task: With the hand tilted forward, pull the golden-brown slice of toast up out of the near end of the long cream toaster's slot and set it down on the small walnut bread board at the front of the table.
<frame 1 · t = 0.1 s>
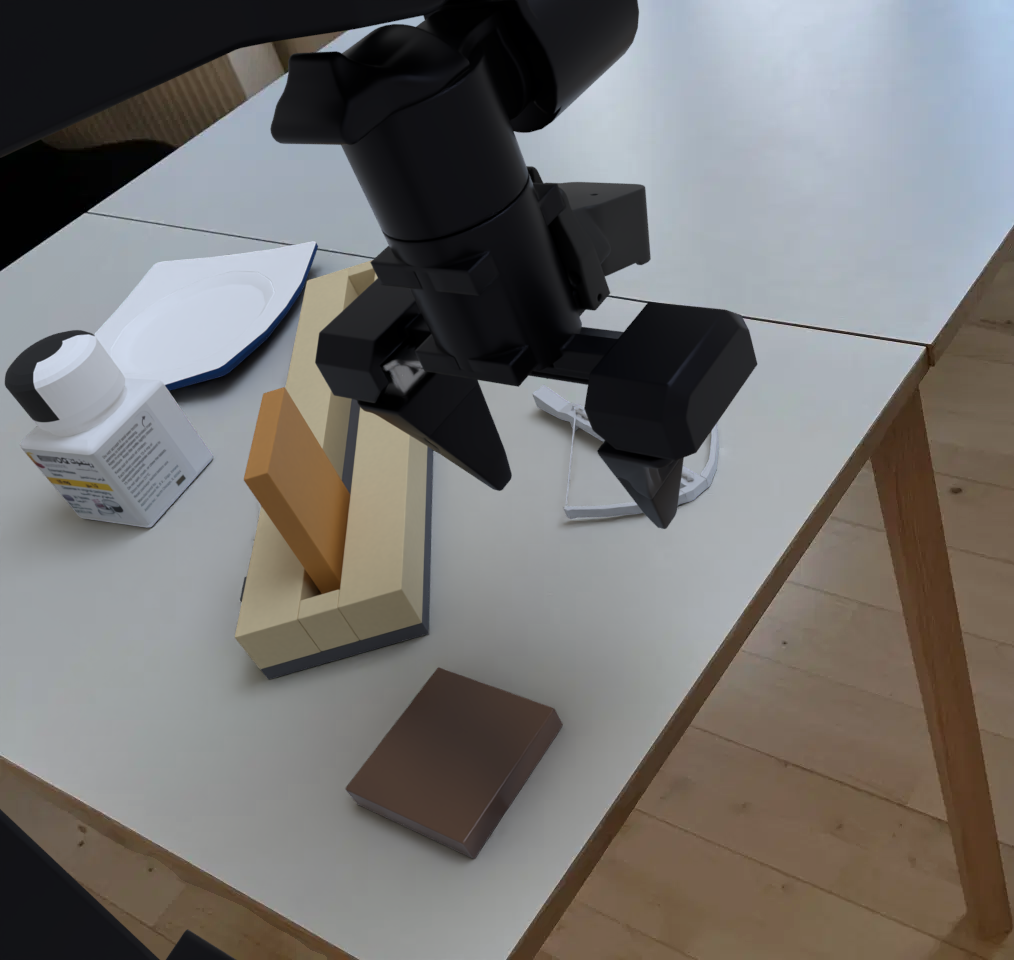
hand: (581, 501, 50), 12 cm above the table, tool pointing down, fingers open, 9 cm apart
plate: (202, 335, 99), on the table
crossbow: (618, 449, 72), on the table
bread board: (460, 764, 56), on the table
toaster: (368, 445, 79), on the table
container: (150, 490, 83), on the table
toast: (349, 562, 69), point 1 cm above the table, touching toaster
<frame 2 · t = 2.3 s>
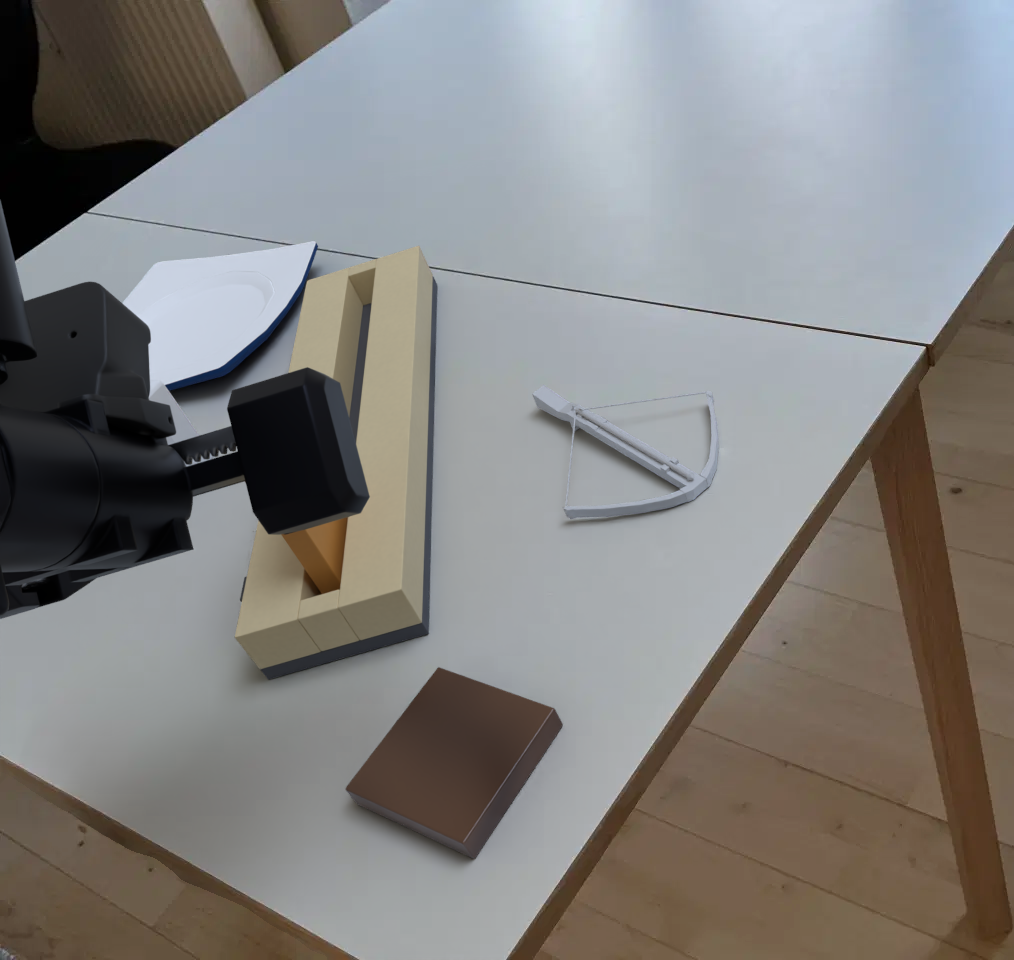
hand: (231, 506, 55), 13 cm above the table, tool tilted 45°, fingers open, 9 cm apart
nothing on the table moved.
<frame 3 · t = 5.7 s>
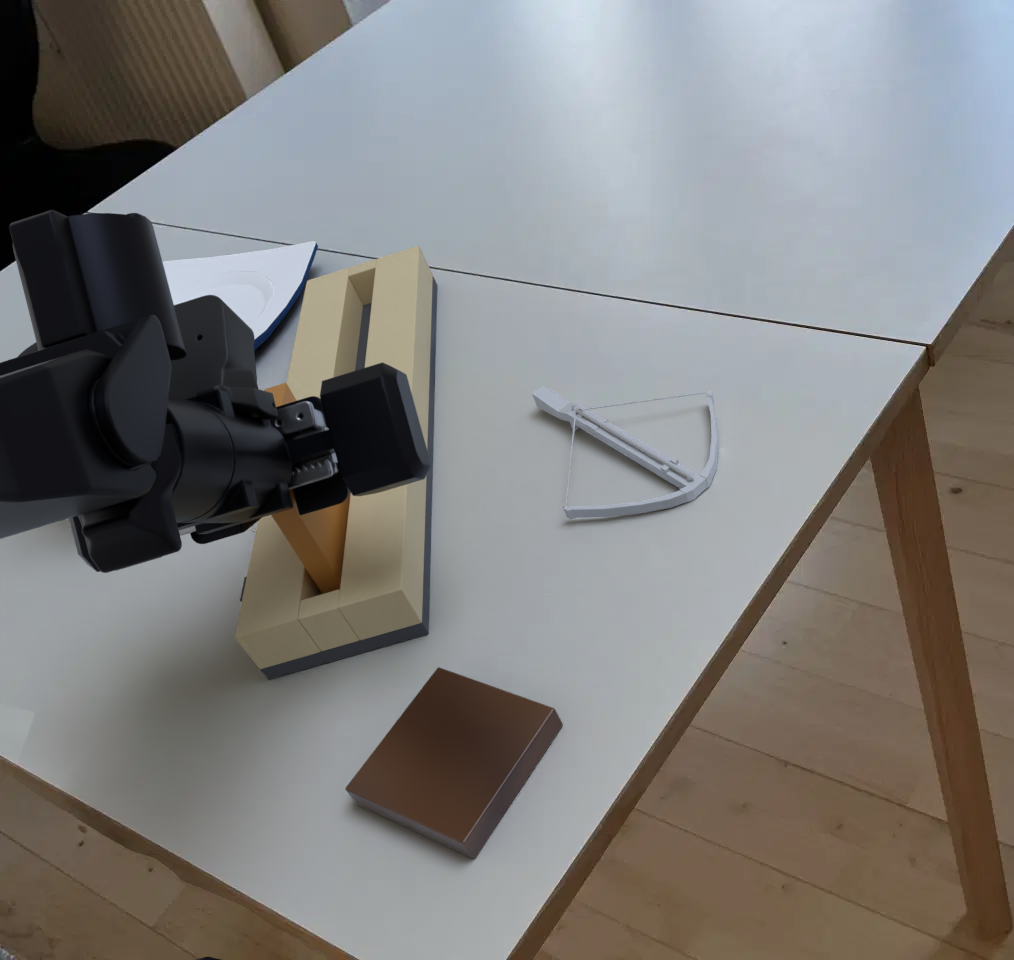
hand: (308, 475, 66), 7 cm above the table, tool tilted 45°, fingers closed on toast
toast: (348, 560, 69), point 1 cm above the table, touching gripper, toaster
everything else where it was.
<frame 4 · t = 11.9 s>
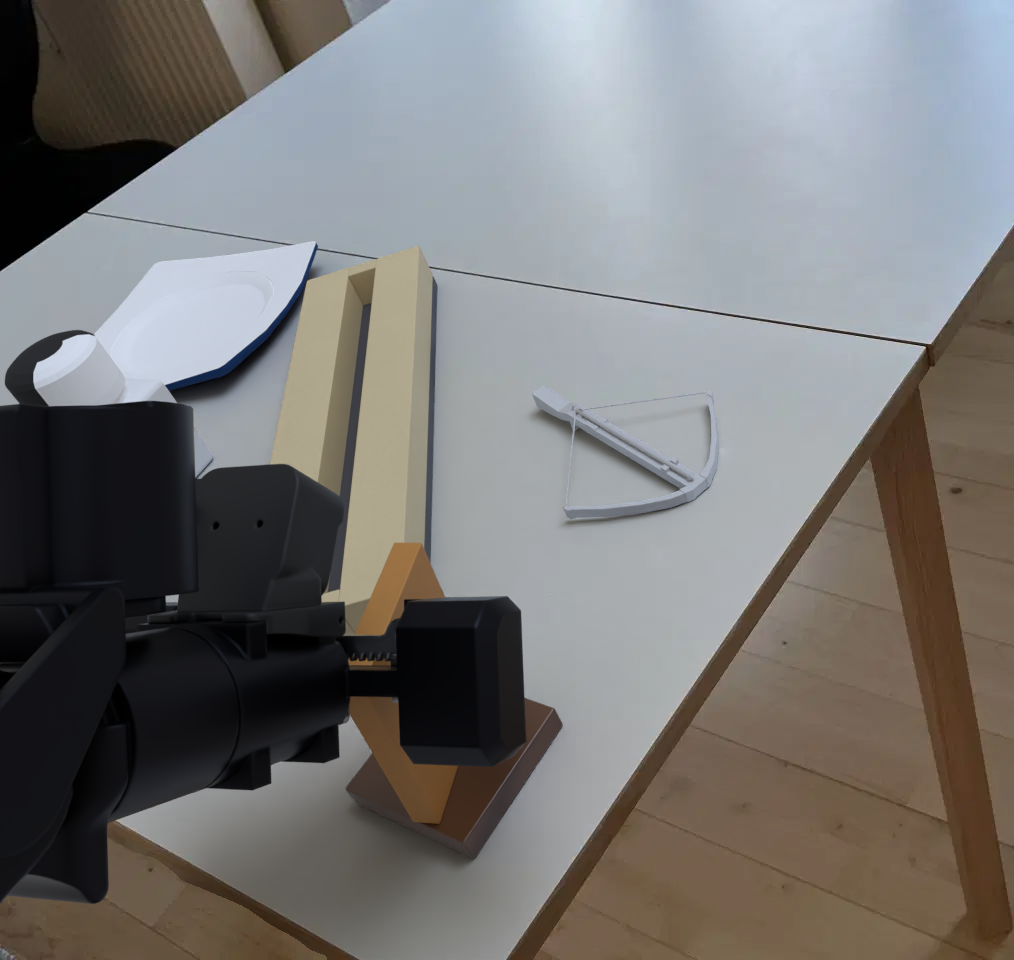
hand: (410, 650, 53), 8 cm above the table, tool tilted 45°, fingers open, 6 cm apart
toast: (450, 750, 55), point 2 cm above the table, tilted 6°, touching bread board
everything else where it was.
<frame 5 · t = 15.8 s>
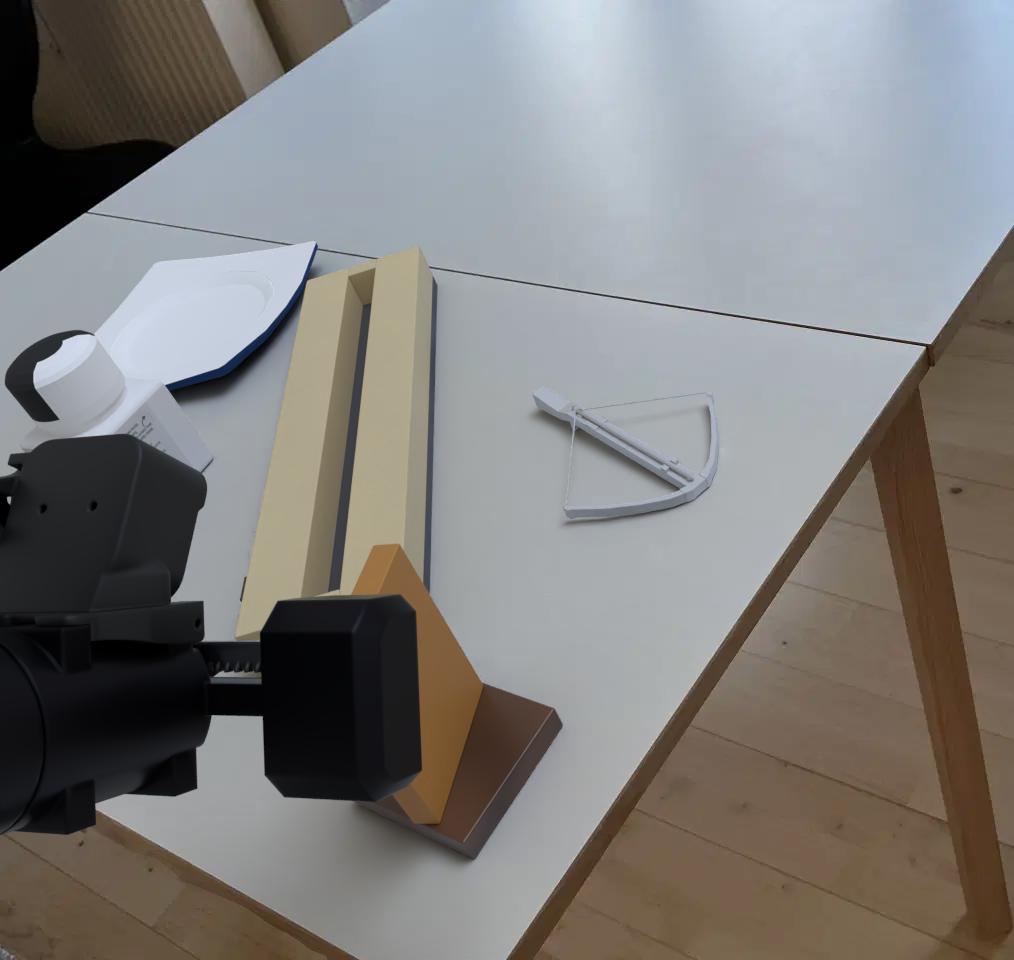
hand: (311, 658, 45), 14 cm above the table, tool tilted 45°, fingers open, 9 cm apart
toast: (450, 751, 55), point 1 cm above the table, touching bread board
everything else where it was.
at the end: toast inside the target area on the bread board (0.2 cm from its centre), point 1.5 cm above the bread board's base; toast touching bread board; the gripper is holding nothing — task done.
